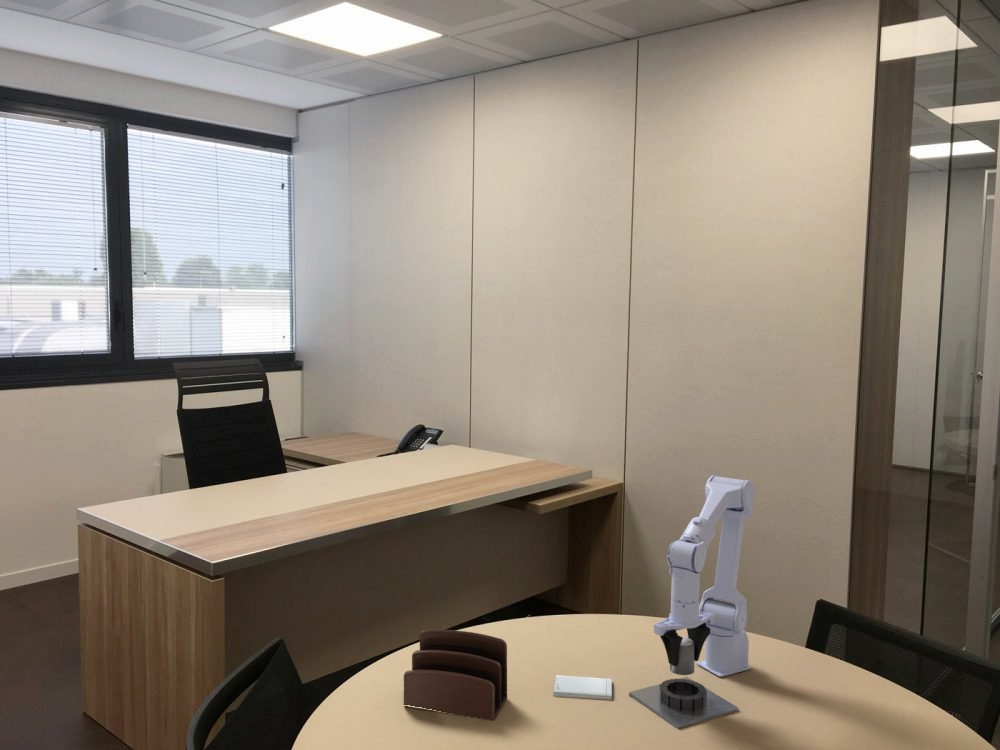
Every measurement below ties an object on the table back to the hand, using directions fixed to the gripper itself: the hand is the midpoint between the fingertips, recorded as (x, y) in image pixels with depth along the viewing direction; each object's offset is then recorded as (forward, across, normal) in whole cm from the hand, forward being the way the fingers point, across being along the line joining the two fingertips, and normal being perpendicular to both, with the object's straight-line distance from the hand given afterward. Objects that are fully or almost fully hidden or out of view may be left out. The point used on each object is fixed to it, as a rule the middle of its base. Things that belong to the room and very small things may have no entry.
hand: (683, 661), depth 173 cm
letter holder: (+9, +42, -22) cm, 48 cm away
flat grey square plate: (+9, 0, 0) cm, 9 cm away
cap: (+2, 0, 0) cm, 2 cm away
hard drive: (+10, +15, -15) cm, 23 cm away
